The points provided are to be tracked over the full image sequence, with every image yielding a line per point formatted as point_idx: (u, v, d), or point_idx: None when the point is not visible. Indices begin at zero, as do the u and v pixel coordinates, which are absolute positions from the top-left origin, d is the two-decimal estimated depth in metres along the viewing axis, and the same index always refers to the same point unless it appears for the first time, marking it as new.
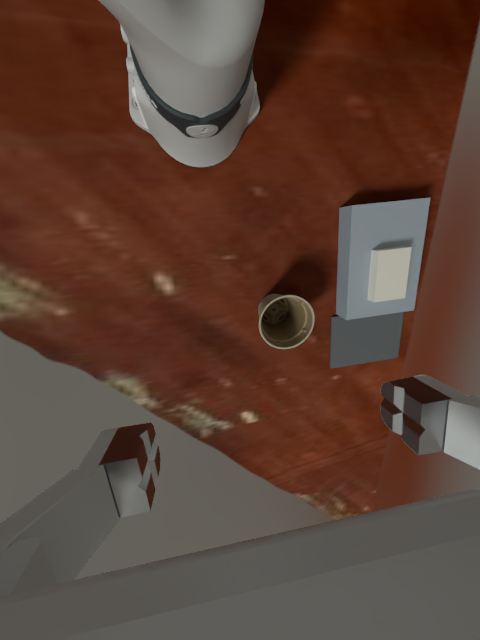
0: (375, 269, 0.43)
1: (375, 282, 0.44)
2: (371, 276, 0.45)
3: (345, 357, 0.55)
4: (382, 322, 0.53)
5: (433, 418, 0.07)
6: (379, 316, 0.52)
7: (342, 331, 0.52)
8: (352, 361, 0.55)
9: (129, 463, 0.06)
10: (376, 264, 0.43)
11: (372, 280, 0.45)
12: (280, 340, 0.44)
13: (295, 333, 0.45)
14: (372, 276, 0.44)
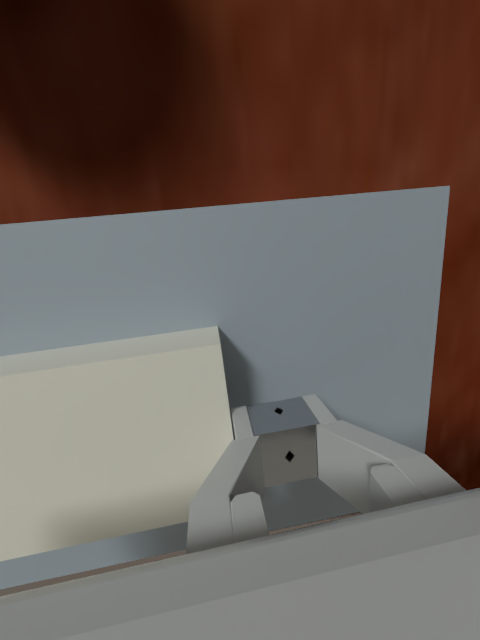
0: (109, 355, 0.07)
1: (20, 372, 0.07)
2: (75, 350, 0.08)
3: None
4: None
5: (302, 443, 0.07)
6: None
7: None
8: None
9: (280, 434, 0.07)
10: (139, 352, 0.07)
11: (46, 358, 0.07)
12: None
13: None
14: (73, 352, 0.08)
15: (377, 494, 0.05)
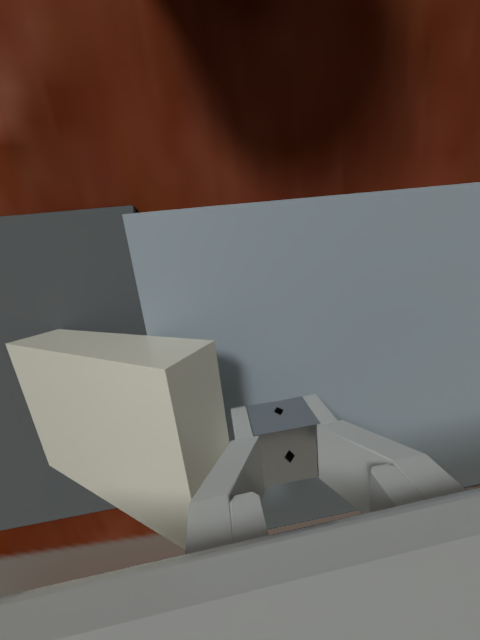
0: (101, 351, 0.08)
1: (55, 349, 0.09)
2: (102, 338, 0.09)
3: None
4: None
5: (302, 443, 0.07)
6: None
7: (65, 267, 0.11)
8: None
9: (280, 435, 0.07)
10: (114, 355, 0.07)
11: (82, 341, 0.09)
12: None
13: None
14: (98, 340, 0.09)
15: (377, 494, 0.05)
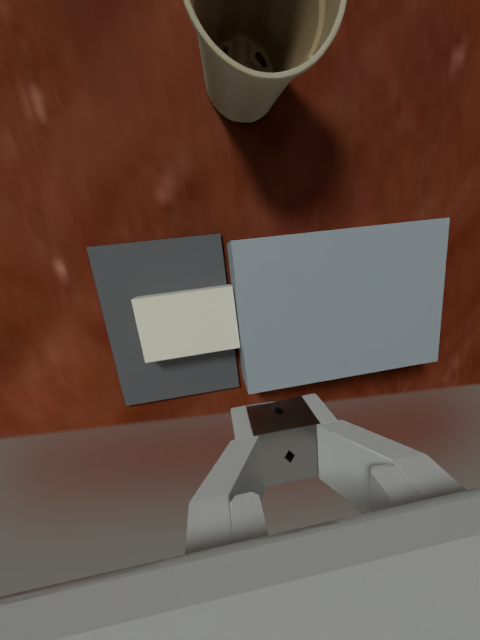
0: (197, 290, 0.23)
1: (172, 294, 0.22)
2: (183, 291, 0.24)
3: (120, 282, 0.23)
4: None
5: (302, 443, 0.07)
6: None
7: (187, 262, 0.24)
8: (110, 302, 0.24)
9: (280, 435, 0.07)
10: (207, 289, 0.23)
11: (176, 292, 0.23)
12: None
13: None
14: (183, 291, 0.23)
15: (377, 494, 0.05)
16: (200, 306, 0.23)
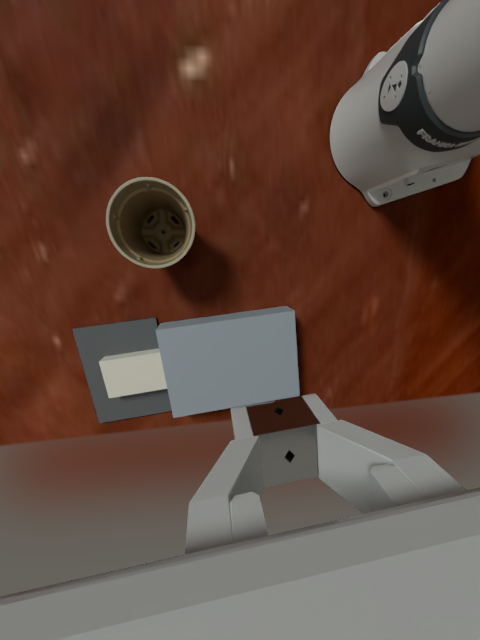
0: (140, 354, 0.37)
1: (124, 357, 0.37)
2: (132, 353, 0.38)
3: (93, 348, 0.38)
4: None
5: (302, 443, 0.07)
6: None
7: (135, 335, 0.38)
8: (87, 360, 0.38)
9: (280, 434, 0.07)
10: (146, 353, 0.37)
11: (127, 355, 0.38)
12: (118, 222, 0.29)
13: (132, 249, 0.30)
14: (132, 354, 0.38)
15: (378, 494, 0.05)
16: (142, 364, 0.37)
